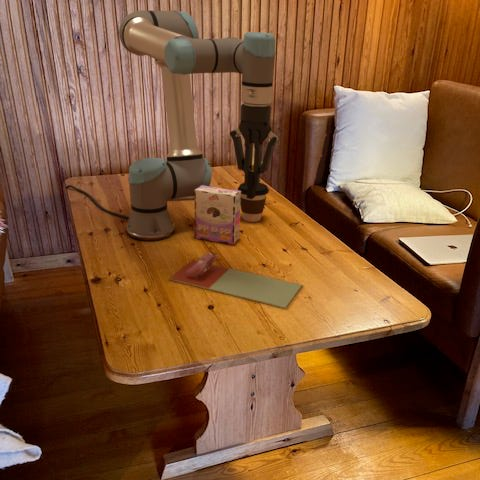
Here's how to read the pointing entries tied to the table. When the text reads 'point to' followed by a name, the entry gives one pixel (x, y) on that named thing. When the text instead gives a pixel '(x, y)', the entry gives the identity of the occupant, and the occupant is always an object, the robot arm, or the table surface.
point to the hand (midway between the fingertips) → (251, 197)
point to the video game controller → (201, 265)
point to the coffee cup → (253, 202)
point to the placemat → (241, 285)
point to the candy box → (217, 214)
